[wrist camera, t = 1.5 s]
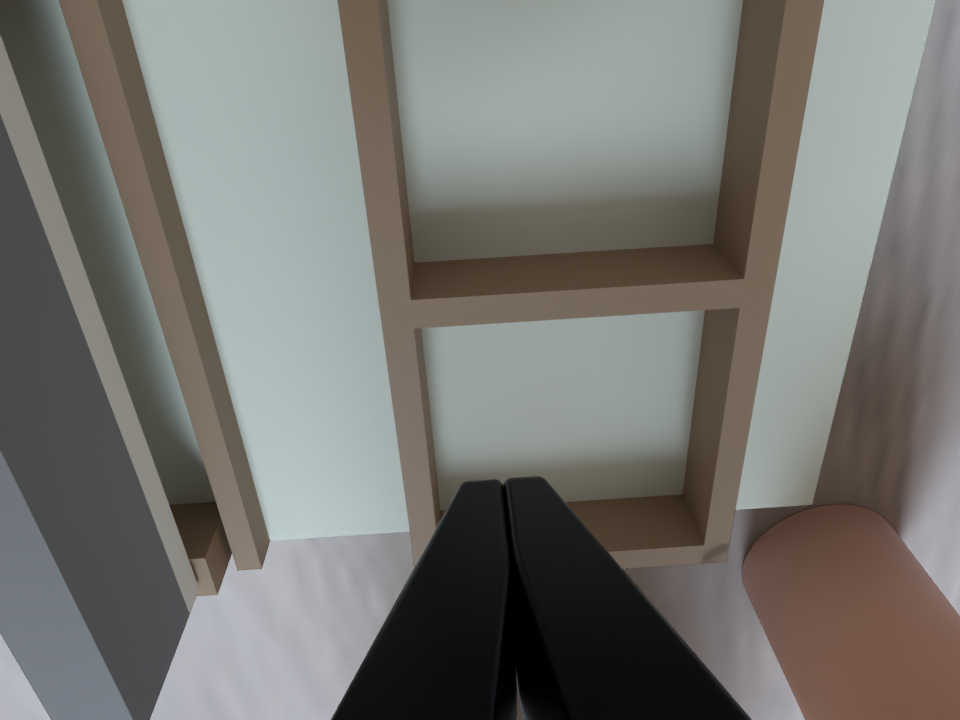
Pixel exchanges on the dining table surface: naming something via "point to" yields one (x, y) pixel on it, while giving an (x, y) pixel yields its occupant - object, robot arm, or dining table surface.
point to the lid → (74, 469)
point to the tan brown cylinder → (854, 618)
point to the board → (473, 249)
